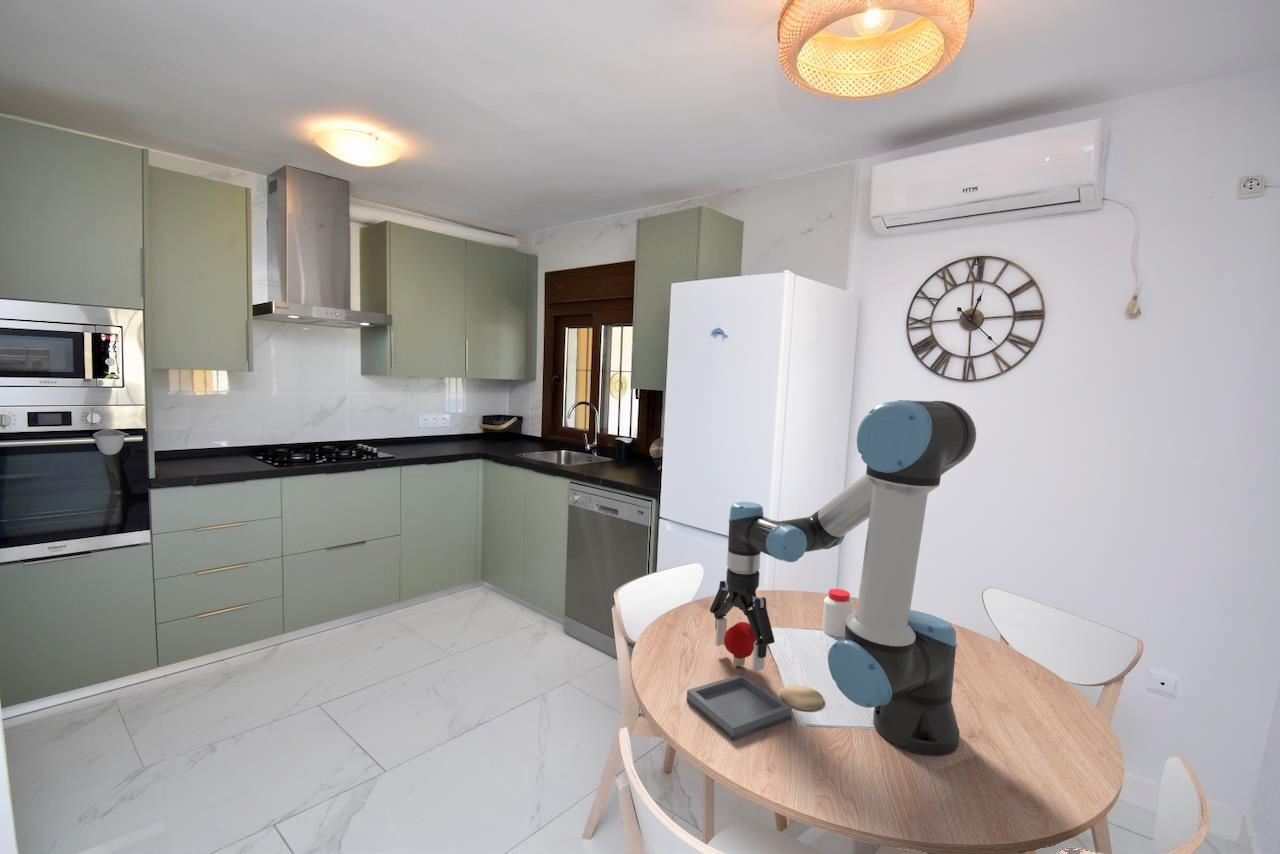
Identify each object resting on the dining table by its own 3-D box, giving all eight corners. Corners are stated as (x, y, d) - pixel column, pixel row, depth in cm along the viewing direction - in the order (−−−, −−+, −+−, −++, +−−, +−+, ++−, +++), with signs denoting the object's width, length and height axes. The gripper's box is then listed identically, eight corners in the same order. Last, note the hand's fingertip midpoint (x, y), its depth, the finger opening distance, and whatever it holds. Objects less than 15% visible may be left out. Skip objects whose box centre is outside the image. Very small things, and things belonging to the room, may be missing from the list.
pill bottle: (816, 628, 160) (818, 589, 159) (837, 623, 163) (839, 585, 163) (836, 639, 153) (838, 599, 152) (858, 635, 156) (860, 595, 156)
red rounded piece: (743, 679, 131) (745, 636, 130) (715, 669, 135) (717, 627, 135) (761, 664, 139) (763, 623, 138) (734, 654, 143) (736, 615, 142)
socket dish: (791, 718, 116) (791, 707, 116) (732, 740, 109) (733, 728, 109) (742, 683, 129) (742, 673, 129) (686, 701, 122) (687, 690, 121)
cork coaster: (832, 703, 122) (832, 701, 122) (802, 714, 118) (802, 712, 118) (801, 683, 130) (801, 681, 130) (771, 693, 126) (771, 691, 126)
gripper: (794, 584, 126) (788, 677, 128) (722, 552, 148) (718, 632, 150) (768, 589, 123) (762, 685, 124) (698, 555, 144) (694, 638, 146)
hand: (738, 656), depth 137 cm, fingers open, 13 cm apart
